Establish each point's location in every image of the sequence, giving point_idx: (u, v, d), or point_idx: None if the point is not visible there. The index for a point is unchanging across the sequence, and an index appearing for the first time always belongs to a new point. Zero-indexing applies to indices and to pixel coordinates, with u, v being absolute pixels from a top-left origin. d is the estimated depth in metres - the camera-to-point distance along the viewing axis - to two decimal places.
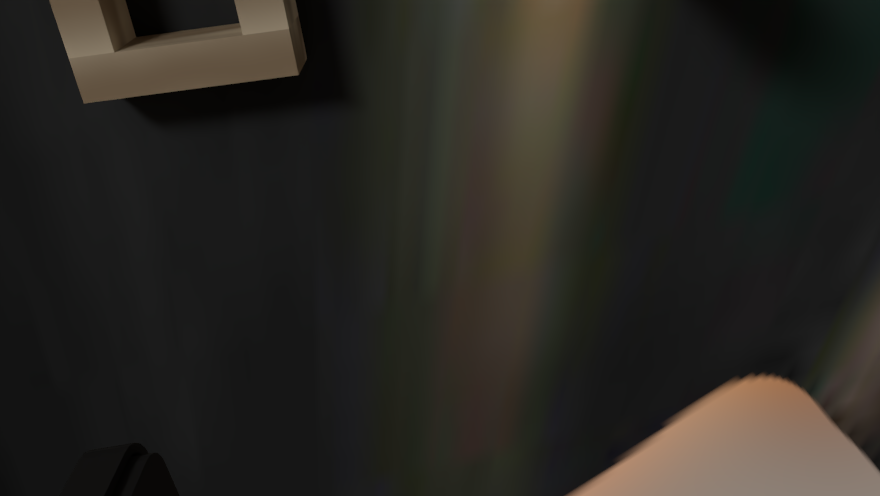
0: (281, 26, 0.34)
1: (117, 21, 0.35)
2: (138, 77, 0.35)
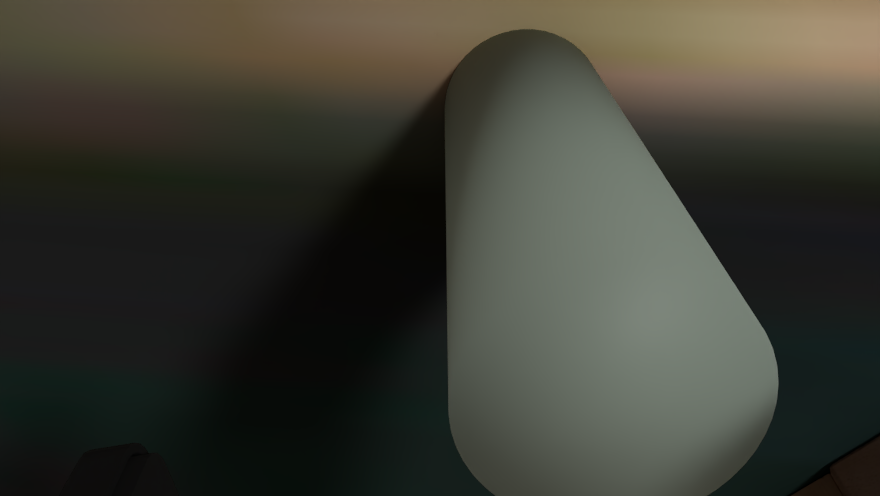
0: None
1: None
2: None
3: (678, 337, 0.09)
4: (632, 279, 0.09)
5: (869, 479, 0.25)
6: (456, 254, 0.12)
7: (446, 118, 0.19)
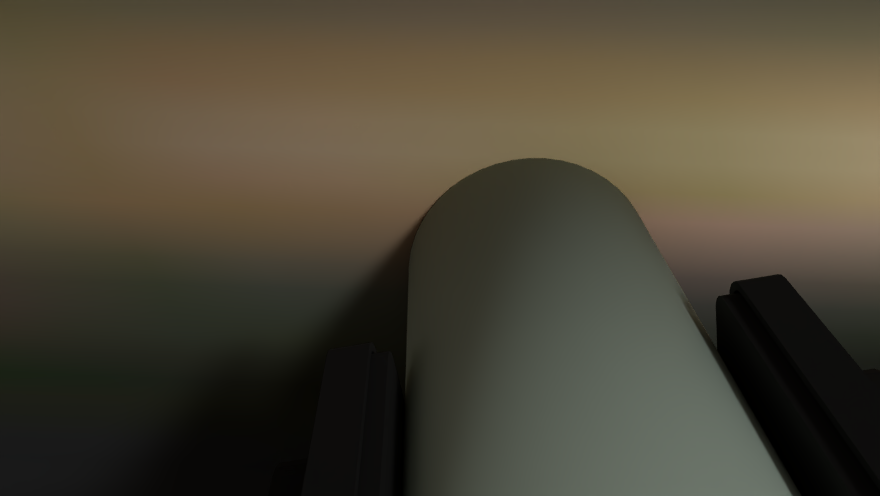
0: None
1: None
2: None
3: None
4: None
5: None
6: None
7: (408, 313, 0.12)
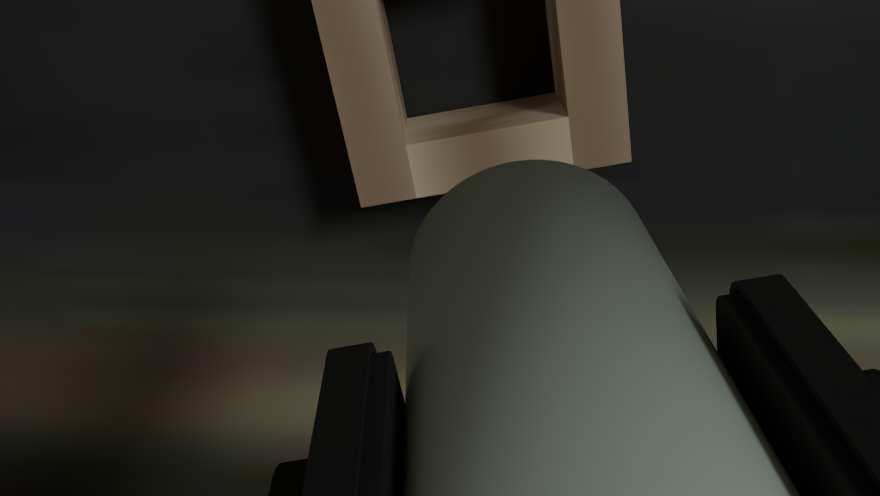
0: (419, 190, 0.28)
1: None
2: (339, 6, 0.26)
3: None
4: None
5: None
6: None
7: (409, 314, 0.12)
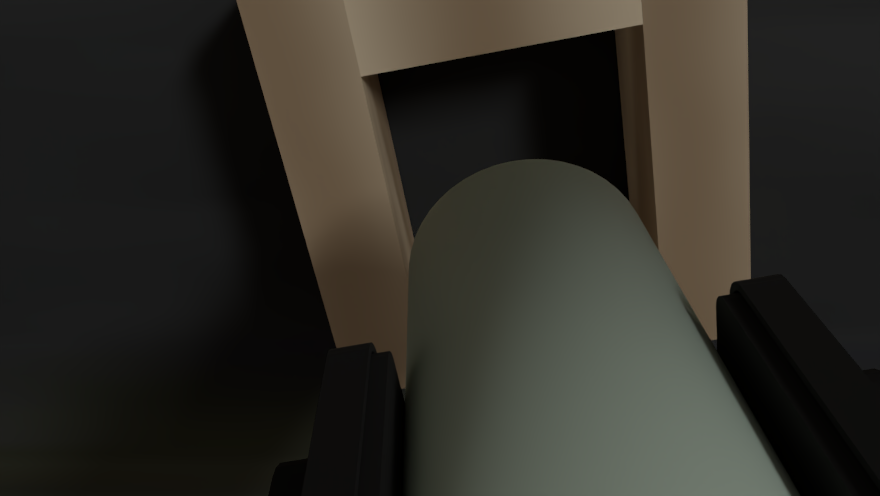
0: None
1: None
2: (311, 120, 0.17)
3: None
4: None
5: None
6: None
7: (409, 314, 0.12)
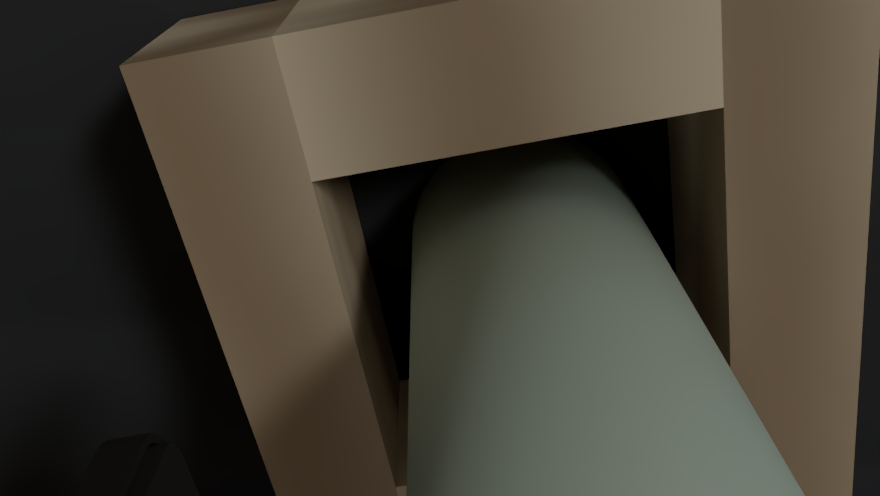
0: None
1: None
2: (242, 240, 0.11)
3: None
4: None
5: None
6: None
7: (413, 266, 0.13)
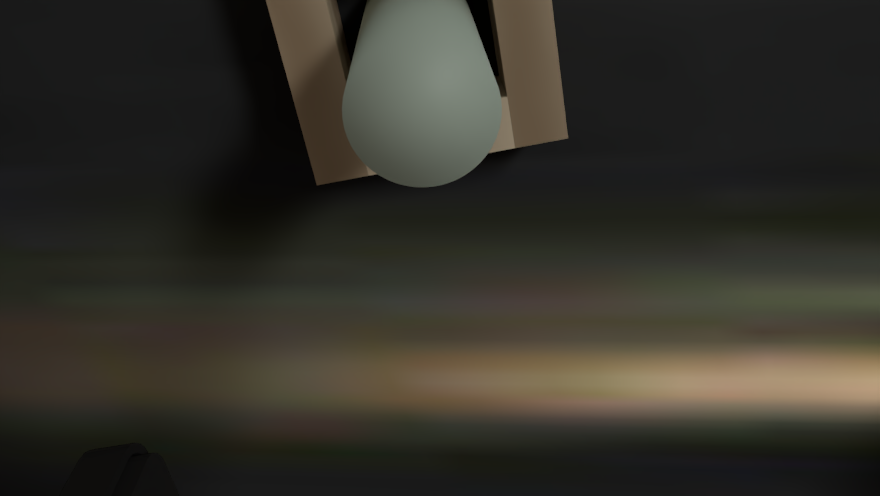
0: None
1: None
2: None
3: (449, 72, 0.20)
4: (423, 41, 0.19)
5: None
6: (352, 59, 0.22)
7: None
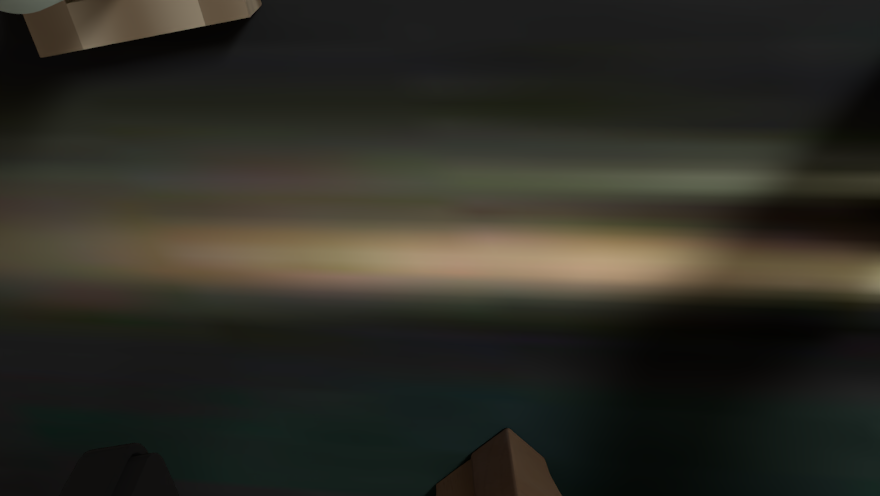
0: (84, 42, 0.36)
1: None
2: None
3: None
4: None
5: (481, 459, 0.49)
6: None
7: None
